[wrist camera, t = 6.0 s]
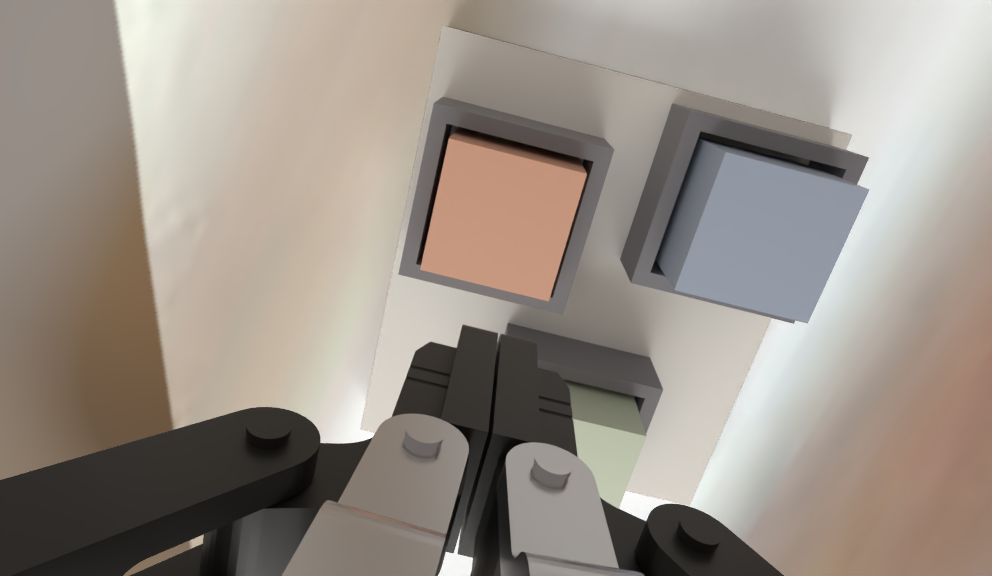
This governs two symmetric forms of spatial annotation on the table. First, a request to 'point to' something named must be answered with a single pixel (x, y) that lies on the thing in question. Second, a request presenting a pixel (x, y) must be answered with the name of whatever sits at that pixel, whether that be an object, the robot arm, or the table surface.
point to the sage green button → (607, 436)
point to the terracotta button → (502, 213)
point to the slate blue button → (757, 230)
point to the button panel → (594, 244)
